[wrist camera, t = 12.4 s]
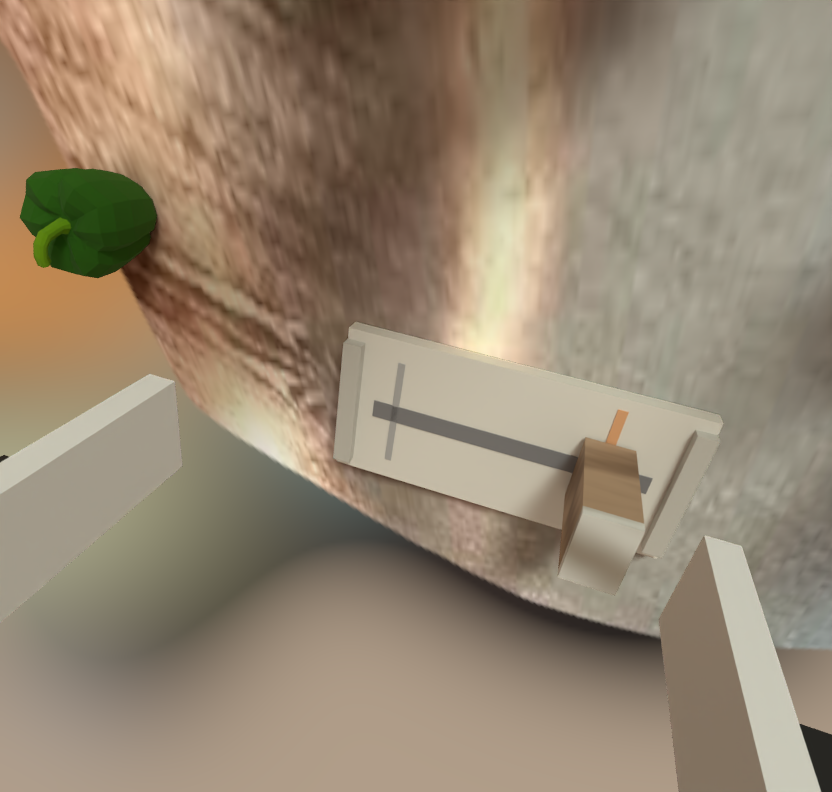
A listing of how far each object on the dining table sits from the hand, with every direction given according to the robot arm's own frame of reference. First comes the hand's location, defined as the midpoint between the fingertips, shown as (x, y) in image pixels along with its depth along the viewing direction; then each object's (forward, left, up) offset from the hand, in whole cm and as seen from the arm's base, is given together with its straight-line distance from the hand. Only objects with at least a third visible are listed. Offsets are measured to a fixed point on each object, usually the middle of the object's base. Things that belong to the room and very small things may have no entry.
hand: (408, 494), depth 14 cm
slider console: (+17, +2, -32) cm, 36 cm away
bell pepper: (+5, -35, -32) cm, 48 cm away
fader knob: (+17, +10, -30) cm, 36 cm away
